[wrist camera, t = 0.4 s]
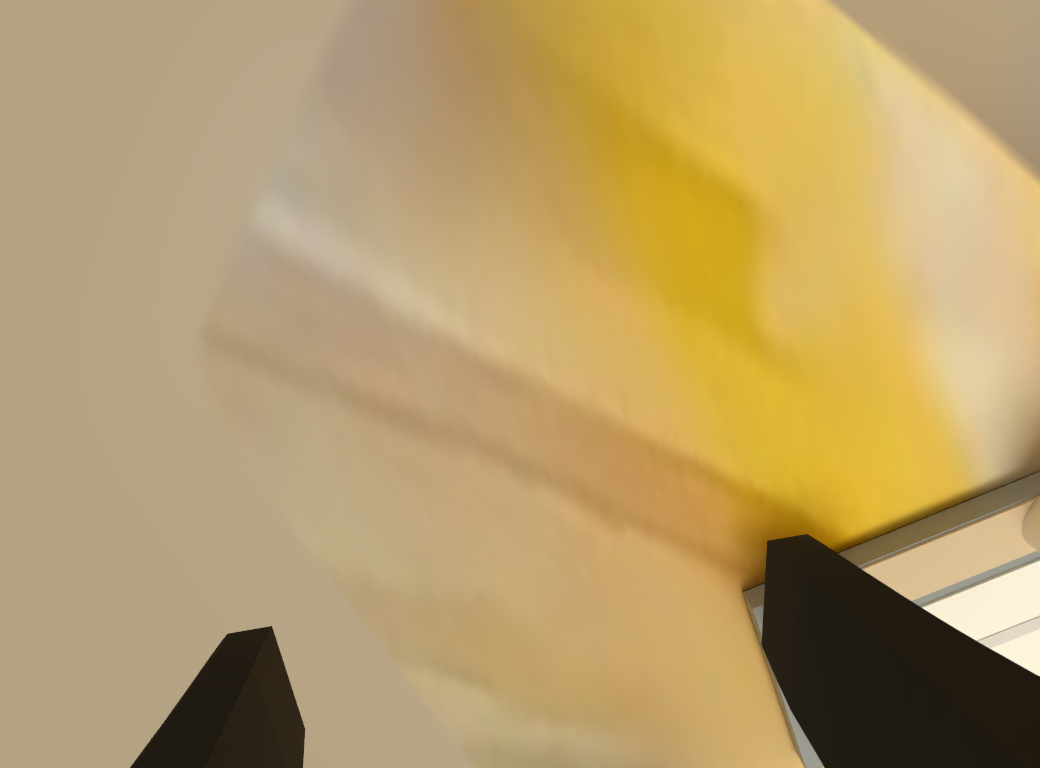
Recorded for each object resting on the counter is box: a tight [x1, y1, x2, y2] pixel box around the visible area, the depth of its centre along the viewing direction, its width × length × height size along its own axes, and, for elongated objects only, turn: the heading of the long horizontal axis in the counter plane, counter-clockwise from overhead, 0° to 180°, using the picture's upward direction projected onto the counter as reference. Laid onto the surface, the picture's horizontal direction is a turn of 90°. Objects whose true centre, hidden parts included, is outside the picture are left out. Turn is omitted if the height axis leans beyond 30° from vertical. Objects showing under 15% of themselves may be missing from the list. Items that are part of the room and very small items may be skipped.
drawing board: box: [743, 472, 1040, 768], centre depth 26 cm, size 9×12×1 cm
